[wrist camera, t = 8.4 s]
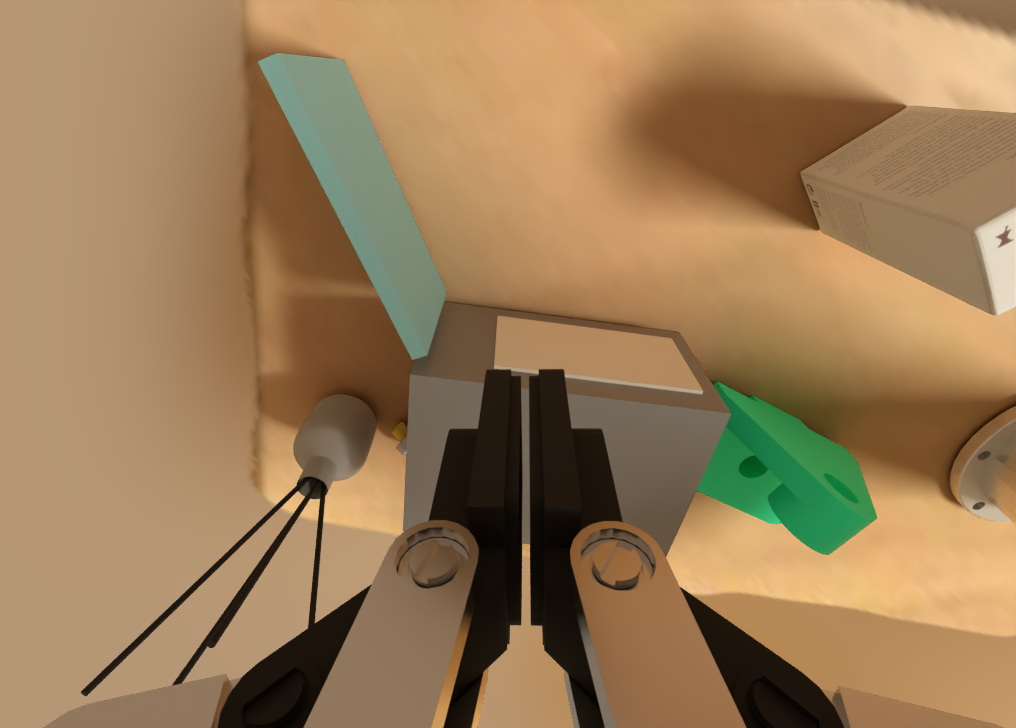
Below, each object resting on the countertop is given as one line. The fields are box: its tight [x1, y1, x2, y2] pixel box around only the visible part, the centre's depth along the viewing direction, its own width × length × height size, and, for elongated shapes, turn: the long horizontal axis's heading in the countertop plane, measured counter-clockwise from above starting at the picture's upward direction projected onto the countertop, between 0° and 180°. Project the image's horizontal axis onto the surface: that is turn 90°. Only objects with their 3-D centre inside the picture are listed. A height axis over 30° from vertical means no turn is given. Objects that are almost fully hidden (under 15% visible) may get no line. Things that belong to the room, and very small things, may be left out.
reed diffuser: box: [81, 394, 408, 696], centre depth 27 cm, size 10×7×20 cm
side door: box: [258, 53, 447, 360], centre depth 24 cm, size 13×1×8 cm, turn 19°
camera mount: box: [696, 381, 877, 555], centre depth 33 cm, size 12×8×10 cm, turn 62°
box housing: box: [403, 302, 731, 557], centre depth 31 cm, size 16×11×9 cm
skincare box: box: [800, 106, 1016, 315], centre depth 22 cm, size 6×4×12 cm
